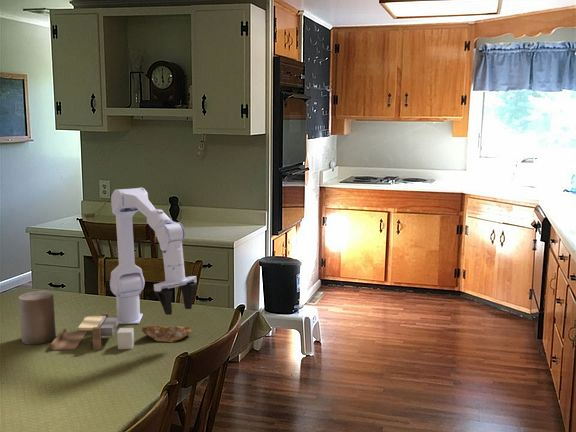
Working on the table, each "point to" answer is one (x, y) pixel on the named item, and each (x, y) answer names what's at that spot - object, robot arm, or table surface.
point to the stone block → (125, 338)
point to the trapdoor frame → (76, 338)
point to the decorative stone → (166, 332)
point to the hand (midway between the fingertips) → (178, 311)
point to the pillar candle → (37, 317)
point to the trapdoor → (96, 321)
